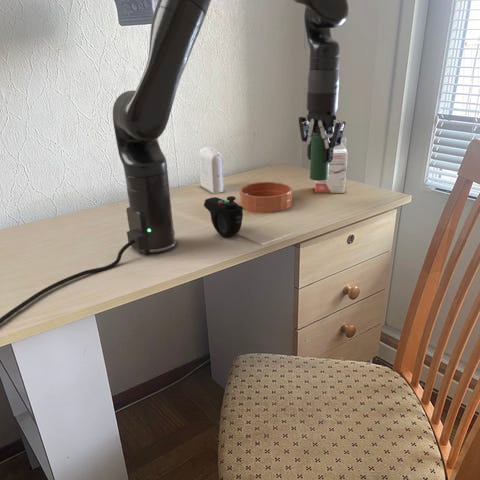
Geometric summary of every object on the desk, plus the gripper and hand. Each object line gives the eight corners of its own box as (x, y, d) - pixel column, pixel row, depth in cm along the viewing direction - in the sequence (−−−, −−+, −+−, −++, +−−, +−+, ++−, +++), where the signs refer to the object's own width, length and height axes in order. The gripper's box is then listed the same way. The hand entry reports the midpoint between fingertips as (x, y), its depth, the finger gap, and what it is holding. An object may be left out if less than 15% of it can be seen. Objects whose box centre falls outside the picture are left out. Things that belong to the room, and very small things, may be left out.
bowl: (264, 217, 135) (264, 200, 132) (229, 205, 144) (229, 189, 142) (302, 205, 142) (302, 188, 140) (267, 194, 152) (267, 179, 150)
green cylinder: (319, 181, 133) (321, 137, 127) (306, 178, 136) (307, 134, 130) (332, 177, 135) (334, 134, 130) (318, 174, 138) (320, 131, 133)
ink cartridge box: (315, 193, 151) (317, 141, 143) (314, 188, 155) (316, 137, 148) (344, 193, 150) (348, 141, 142) (343, 188, 154) (347, 137, 147)
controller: (232, 244, 120) (230, 202, 115) (203, 229, 129) (200, 190, 123) (247, 239, 122) (245, 198, 117) (217, 225, 131) (215, 186, 126)
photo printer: (226, 192, 155) (224, 149, 149) (213, 194, 153) (210, 152, 147) (211, 184, 163) (209, 143, 156) (199, 186, 161) (196, 145, 155)
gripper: (290, 89, 127) (289, 159, 136) (335, 93, 118) (331, 168, 126) (311, 85, 131) (309, 154, 140) (356, 89, 122) (351, 163, 130)
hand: (319, 160), depth 133 cm, fingers closed on green cylinder, 5 cm apart
